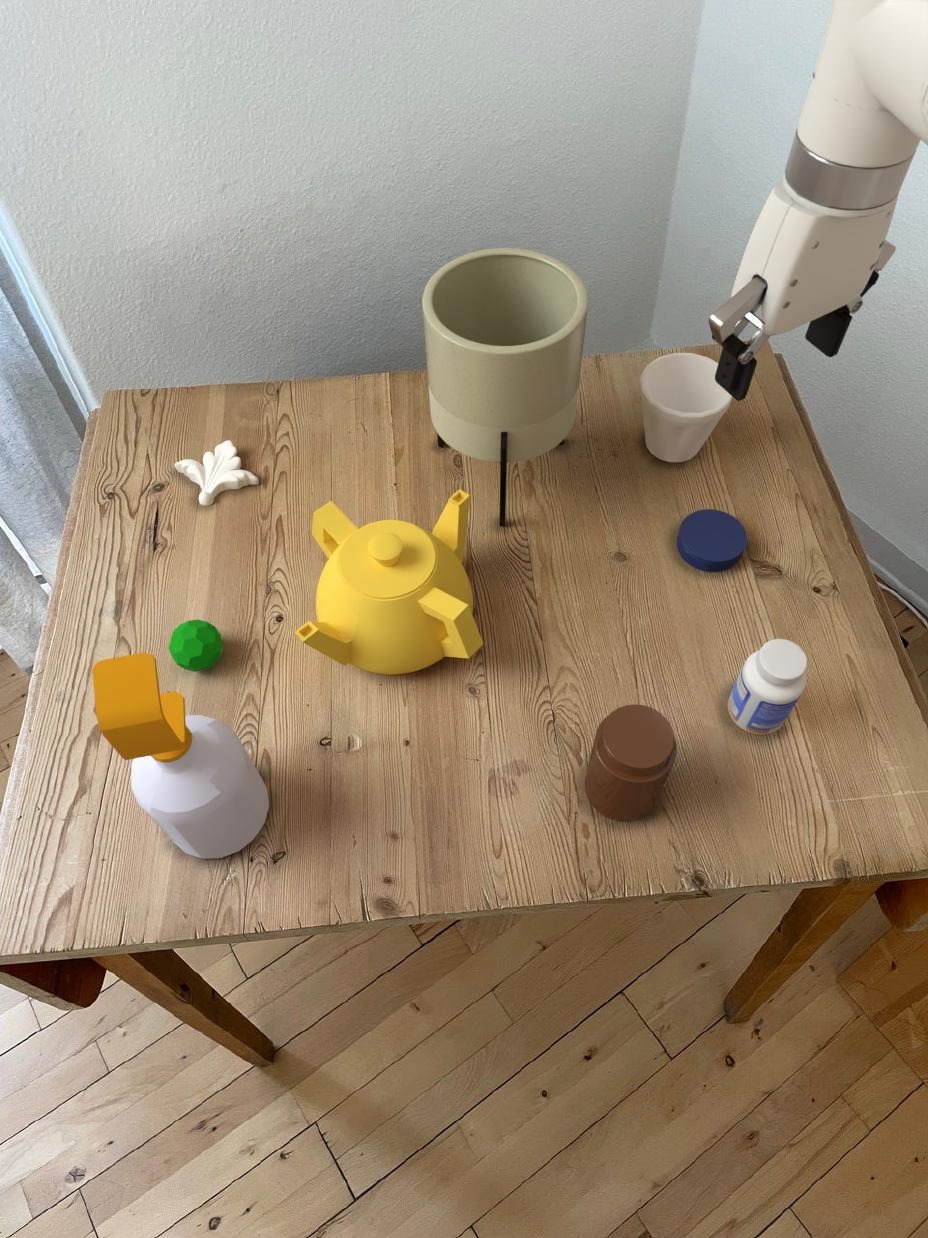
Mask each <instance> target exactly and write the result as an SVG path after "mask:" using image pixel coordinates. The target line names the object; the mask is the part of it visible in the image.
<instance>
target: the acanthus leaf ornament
mask: <svg viewBox="0 0 928 1238" xmlns="http://www.w3.org/2000/svg"><path fill="white" fill-rule="evenodd" d="M237 454H238V449H237V447H235V445H234V443H233V441H232V440H225V441H223V442H221V443H220V444H217V445H216V446H215V448H214V453H213V452H212V451H206V452H205V453H204V455H203V458H202V463H203V464H202V463H200V462H199V461H197V460H195V459H191V458H185V459H182V460H180V461H177V462H174V468H175V469H176V471H177V472H178V473H180V474H183V475H184V476H185V477H187V478H188V479H189V480H190V481H191V482H193V483H195V484H197V485H198V486H200V489H201V492H200V493H199V495H198V503H199V504H200V505H201V506H205V507H208V506H210V505H212V504H213V503H214V501H215V497H216V496H218V495H219V494H220V493H222V492H224V491H227V490H239V489H241V488H242V487H248V486H249V485H254V486H255V485H258V484H260V480H259V478H258V477H257V475H254V474H253V473H252V472H250V471H249V470H246V469H242V468H241V467H242V459H241V457H239V456H237Z"/></svg>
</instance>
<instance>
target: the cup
mask: <svg viewBox="0 0 928 1238" xmlns="http://www.w3.org/2000/svg"><path fill="white" fill-rule="evenodd" d="M718 363H719V362H717V361H715V360H713V359H712V358H710V357H708V356H704V355H700V354H697V353H693V352H673V353H669V354H666V355H662V356H659V357H657V358H655V359H654V360H653V361H651V362H650V363H648V364H647V365H646V366H645V367H644V369H643V371H642V373H641V375H640V377H639V383H638V384H639V385H638V386H639V387H638V388H639V398H640V400H641V409H642V417H643V418H642V419H643V428H644V429H643V430H644V438H645V439H644V440H645V447H646V448H647V450H648V451H649V453H650V455H651V456H653V457H654V458H656V459H658V461H661V462H663V463H664V462H665V463H668V464H683V463H686V462H688V461H690V460H691V459H692V458H694V457H695V456H696V455H698V453H699V452H700V450H701V449H702V448H703V445H704V444H705V443H706V441H707V440H708V438H709V437H710V435H711V434H712V432H713V431H714V429H715V428H716V427H717V425H718V423H719V422H720V420H721V419H722V417H723V416H724V414H725V413H726V412H727V411H728V409H729V407H730V404H731V403H732V400H733V397H732V396H731V395H730V394H729V393H728V392H727V391H726V390H725V389H723V388H722V387H721V386H720V385H719V384H718V383H717V382H716V381H715V374H716V370H717V367H718Z"/></svg>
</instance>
